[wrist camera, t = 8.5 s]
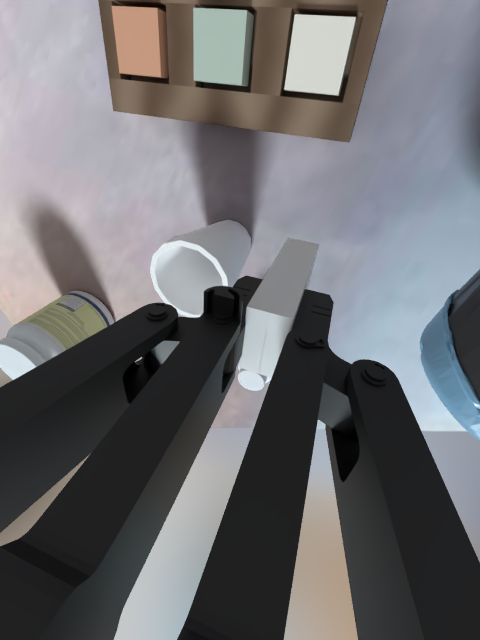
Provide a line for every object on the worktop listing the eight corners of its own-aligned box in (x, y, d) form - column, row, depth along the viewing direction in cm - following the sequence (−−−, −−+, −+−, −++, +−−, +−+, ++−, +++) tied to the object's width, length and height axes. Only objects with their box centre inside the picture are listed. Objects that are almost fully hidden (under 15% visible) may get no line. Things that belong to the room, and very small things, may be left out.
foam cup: (211, 195, 40) (158, 224, 29) (272, 227, 39) (241, 267, 29) (193, 255, 46) (145, 295, 35) (247, 283, 45) (213, 332, 35)
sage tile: (253, 16, 27) (247, 10, 25) (248, 86, 30) (241, 85, 28) (202, 13, 28) (193, 7, 26) (202, 81, 31) (193, 80, 29)
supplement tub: (61, 280, 59) (-25, 328, 46) (115, 299, 57) (40, 356, 44) (72, 327, 66) (0, 379, 53) (119, 345, 64) (57, 405, 51)
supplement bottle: (252, 321, 49) (230, 362, 41) (286, 326, 47) (270, 370, 39) (253, 347, 52) (233, 390, 44) (284, 353, 50) (269, 398, 42)
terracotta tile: (168, 13, 29) (157, 8, 28) (170, 78, 32) (161, 77, 31) (124, 11, 30) (111, 5, 29) (130, 74, 33) (119, 72, 32)
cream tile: (356, 22, 25) (356, 16, 24) (339, 96, 28) (338, 95, 27) (298, 19, 26) (294, 14, 25) (288, 90, 29) (284, 89, 28)
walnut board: (396, -31, 24) (399, -46, 22) (350, 140, 31) (349, 142, 29) (113, -35, 30) (92, -47, 28) (129, 110, 37) (113, 110, 35)
